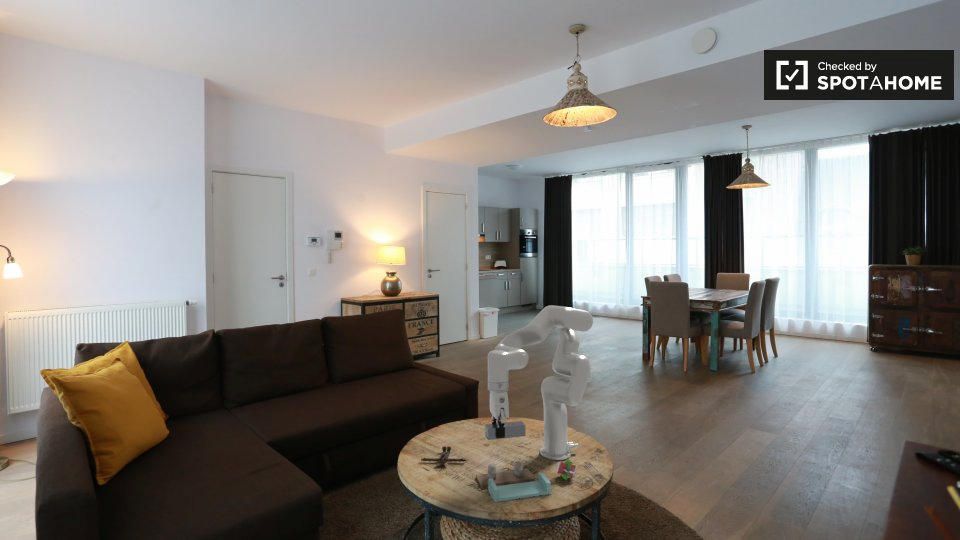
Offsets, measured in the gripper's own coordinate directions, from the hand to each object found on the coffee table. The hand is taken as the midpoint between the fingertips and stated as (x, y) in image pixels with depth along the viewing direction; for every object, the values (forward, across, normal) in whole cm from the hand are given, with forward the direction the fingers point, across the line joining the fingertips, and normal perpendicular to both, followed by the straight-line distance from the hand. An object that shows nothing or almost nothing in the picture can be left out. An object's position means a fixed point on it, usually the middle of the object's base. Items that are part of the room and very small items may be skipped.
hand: (498, 434), depth 170 cm
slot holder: (+17, -10, -4) cm, 20 cm away
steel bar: (+1, 0, -2) cm, 3 cm away
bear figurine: (+17, +22, +16) cm, 32 cm away
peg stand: (+17, 0, -2) cm, 17 cm away
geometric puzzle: (+17, -4, -24) cm, 30 cm away
